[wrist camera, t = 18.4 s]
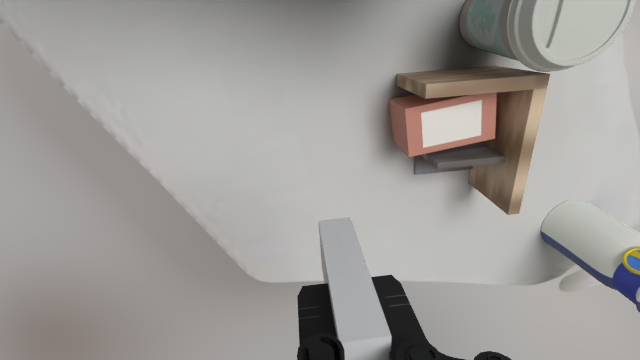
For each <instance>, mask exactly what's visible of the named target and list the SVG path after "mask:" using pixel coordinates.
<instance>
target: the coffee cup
mask: <svg viewBox="0 0 640 360" xmlns="http://www.w3.org/2000/svg"><path fill="white" fill-rule="evenodd" d="M635 2H636V0H467V1H466V2H465V4H464V6H463V8H462V11H461V15H460V21H459V26H460V32H461V35H462V37H463V38H464V40H465V41H466V42H467V43H468V44H469V45H471V46H473V47H476V48H479V49H482V50H485V51H488V52H491V53H495V54H498V55H501V56H504V57H508V58H511V59H514V60H517V61H520V62H521V63H522V64H523V65H525V66H526V67H528V68H530V69H533V70H536V71H543V72H549V71H558V70H564V69H568V68H570V67H573V66H575V65H579V64H582V63H585V62H587V61H589V60H591V59H593V58H595V57H596V56H598V55H599V54H601V53H602V52H603V51H605V50H606V49H607V48H608V47H609V46H610V45H611V44H612V43H613V42H614V41H615V40H616V39H617V37H618V36H619V35H620V33H621V32H622V31H623V29H624V27H625V26H626V24H627V22H628V20H629V18H630V16H631V14H632V11H633V8H634V5H635Z"/></svg>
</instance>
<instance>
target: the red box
mask: <svg viewBox="0 0 640 360" xmlns="http://www.w3.org/2000/svg"><path fill="white" fill-rule="evenodd" d="M496 101H497V93H485V94H474V95H462V96H451V97H439V98H428V99H425V98H423V97H421V96H418V95H416V94H410V95H406V96H401V97H396V98H392V99H389V105H390V115H391V125H392V134H393V142H394V143H395V144H396V145H397V146H398V147H399V148H400V149H401V150H402V151H403V152H404V153H405V154H406V155H407V156H408V157H412V156H417V155H422V154H426V153H431V152H435V151H440V150H445V149H449V148H454V147H458V146H463V145H468V144H472V143H477V142H481V141H486V140H491V139H495V127H496Z"/></svg>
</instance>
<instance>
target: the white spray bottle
mask: <svg viewBox="0 0 640 360" xmlns="http://www.w3.org/2000/svg"><path fill="white" fill-rule="evenodd" d="M541 235H542V238H543V239H544V241H545V242H546V243H548V244H549V245H551V246H552V247H554V248H555V249H557V250H558V251H559V252H561V253H562V254H564V255H565V256H566V257H568V258H569V259H571V260H572V261H573V262H575V263H576V264H577V265H579V266H580V267H581V268H582V269H584V270H585V271H586V272H588V273H589V274H590V275H592V276H593V277H594V278H596V279H597V280H598V281H600V282H601V283H603V284H604V285H606V286H608V287H610V288H612V289H615V290H618V291H619V292H620V293H622V294H623V295H624V296H625V297H627V298H628V299H629V300H630V301H632V302H633V303H634V304H636V307H637V309H638V311H639V312H640V232H638V231H636V230H635V229H633V228H631V227H629V226H628V225H626V224H624V223H622V222H621V221H619V220H617V219H616V218H614V217H612V216H611V215H609V214H607V213H606V212H604V211H603V210H601V209H599V208H598V207H596V206H595V205H593V204H592V203H590V202H588V201H587V200H584V199H572V200H568V201H565V202H563V203H561V204H559V205H558V206H556V207H555V208H554V209H553V210H552V211H551V212H550V213H549V214H548V215H547V216H546V218H545V219H544V221H543V224H542V227H541Z"/></svg>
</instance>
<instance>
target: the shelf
mask: <svg viewBox="0 0 640 360" xmlns="http://www.w3.org/2000/svg"><path fill="white" fill-rule="evenodd" d="M549 76H550V74H547V73H540V72H533V71H526V70H520V69H513V68H506V67H499V66H489V67H476V68H464V69H452V70H439V71H427V72H415V73H403V74H397V84H396V86H399V87H401V88H403V89H405V90H407V91H410V92H412V93H414V94H416V95H418V96H421V97H423V98H425V99H428V98H439V97H451V96H462V95H474V94H485V93H497V101H496V127H495V139H491V140H486V141H481V142H477V143H472V144H468V145H463V146H458V147H454V148H449V149H445V150H440V151H435V152H431V153H426V154H422V155H417V156H415V169H414V173H415V175H416V174H426V173H435V172H445V171H455V170H465V169H470V176H469V184H471V185H472V186H473V187H474V188H476V189H477V190H478V191H479V192H481V193H482V194H483V195H484V196H485V197H487V198H488V199H489V200H490V201H492V202H493V203H494V204H495V205H497V206H498V207H499V208H500V209H502V210H503V211H504V212H505V213H506V214H508V215H510V214H519V211H520V207H521V202H522V198H523V193H524V189H525V184H526V180H527V175H528V171H529V166H530V162H531V157H532V153H533V148H534V144H535V139H536V135H537V130H538V126H539V121H540V117H541V112H542V108H543V103H544V99H545V94H546V90H547V85H548V81H549Z"/></svg>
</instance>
